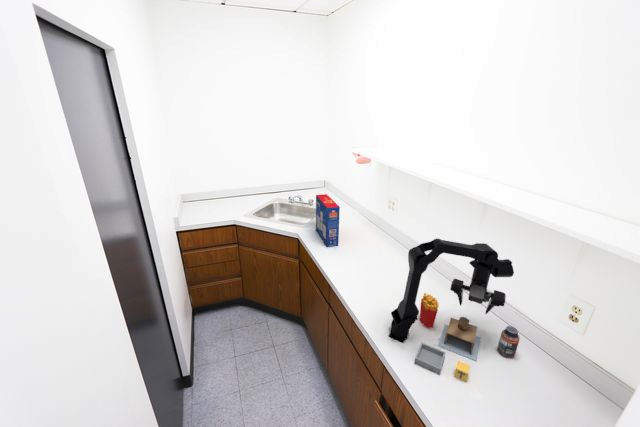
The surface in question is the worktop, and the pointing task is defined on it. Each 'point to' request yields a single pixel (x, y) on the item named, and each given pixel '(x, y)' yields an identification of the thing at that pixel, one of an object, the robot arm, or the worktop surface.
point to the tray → (430, 358)
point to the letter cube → (462, 371)
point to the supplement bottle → (508, 342)
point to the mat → (459, 345)
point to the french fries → (428, 310)
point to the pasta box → (327, 220)
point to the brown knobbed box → (462, 330)
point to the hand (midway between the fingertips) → (473, 309)
